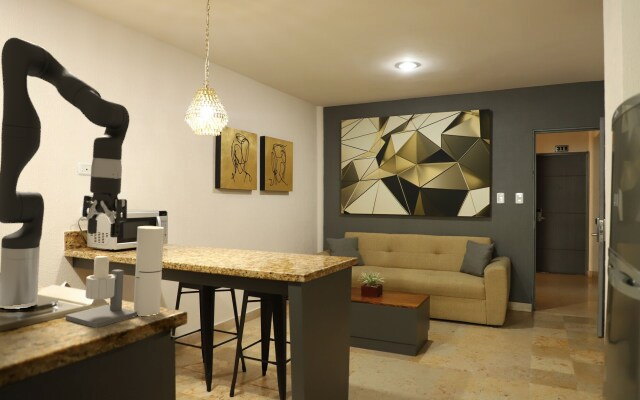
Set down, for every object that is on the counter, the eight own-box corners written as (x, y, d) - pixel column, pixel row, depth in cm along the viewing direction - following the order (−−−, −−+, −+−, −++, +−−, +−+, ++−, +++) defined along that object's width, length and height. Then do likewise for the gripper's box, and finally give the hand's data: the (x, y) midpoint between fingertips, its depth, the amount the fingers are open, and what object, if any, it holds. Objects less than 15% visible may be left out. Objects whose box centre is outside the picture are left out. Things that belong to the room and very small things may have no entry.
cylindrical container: (150, 317, 126) (155, 229, 126) (128, 314, 128) (132, 227, 127) (164, 311, 133) (168, 227, 133) (142, 308, 135) (147, 225, 134)
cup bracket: (65, 319, 120) (67, 273, 120) (106, 308, 132) (108, 266, 132) (96, 328, 115) (99, 279, 115) (136, 315, 127) (138, 272, 127)
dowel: (89, 293, 122) (91, 256, 122) (101, 291, 125) (102, 255, 125) (99, 295, 120) (100, 258, 120) (110, 293, 124) (112, 256, 123)
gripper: (75, 173, 121) (72, 233, 122) (113, 177, 115) (110, 239, 116) (99, 175, 128) (96, 231, 129) (136, 178, 122) (133, 237, 123)
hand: (103, 235), depth 122 cm, fingers open, 8 cm apart
